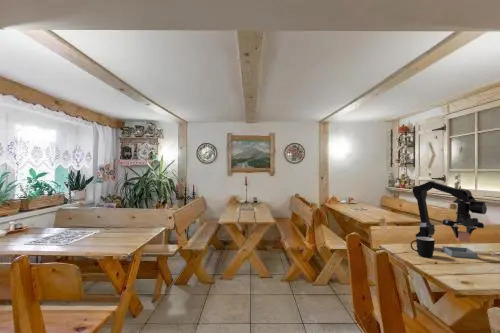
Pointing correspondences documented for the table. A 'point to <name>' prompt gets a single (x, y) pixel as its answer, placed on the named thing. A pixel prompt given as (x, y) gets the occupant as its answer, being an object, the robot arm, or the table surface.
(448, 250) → the tray
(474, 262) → the table surface
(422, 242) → the mug
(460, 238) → the red block
